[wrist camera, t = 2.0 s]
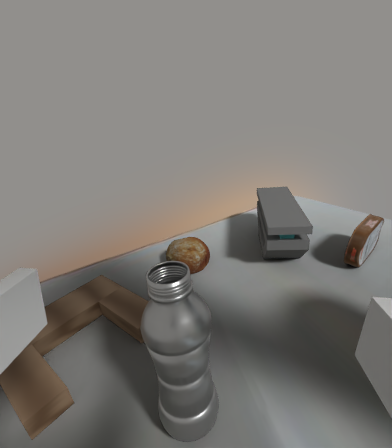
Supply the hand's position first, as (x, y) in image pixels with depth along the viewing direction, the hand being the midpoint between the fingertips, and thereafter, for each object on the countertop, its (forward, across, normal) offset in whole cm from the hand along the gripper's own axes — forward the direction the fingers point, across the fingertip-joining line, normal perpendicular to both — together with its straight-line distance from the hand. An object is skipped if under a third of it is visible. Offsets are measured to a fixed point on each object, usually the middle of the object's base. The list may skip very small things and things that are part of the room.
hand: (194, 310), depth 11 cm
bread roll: (+45, -6, -22) cm, 51 cm away
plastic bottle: (+12, -1, -24) cm, 27 cm away
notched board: (+23, -20, -25) cm, 40 cm away
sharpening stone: (+51, +15, -19) cm, 57 cm away
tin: (+45, +32, -18) cm, 58 cm away
